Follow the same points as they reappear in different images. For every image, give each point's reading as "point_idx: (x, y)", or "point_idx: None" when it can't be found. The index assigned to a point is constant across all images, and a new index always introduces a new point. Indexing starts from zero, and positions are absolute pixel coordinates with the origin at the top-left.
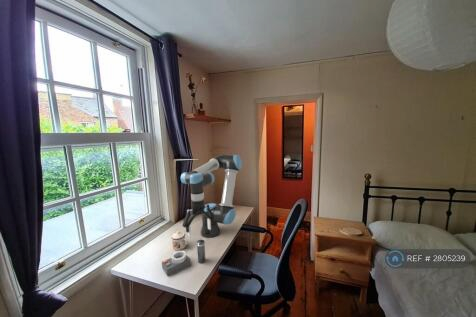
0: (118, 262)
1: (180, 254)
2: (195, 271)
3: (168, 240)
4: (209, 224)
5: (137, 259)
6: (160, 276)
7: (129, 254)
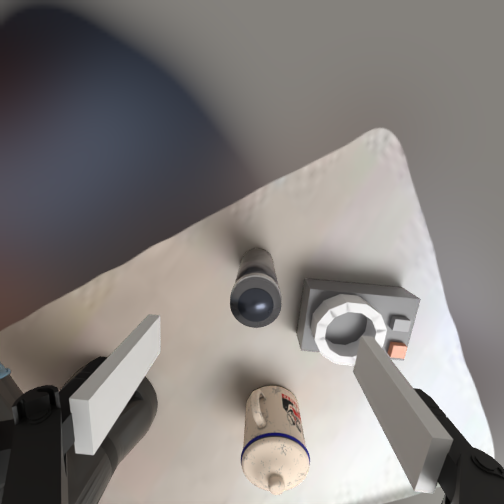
0: None
1: (327, 342)
2: (313, 229)
3: None
4: (129, 356)
5: None
6: None
7: None
